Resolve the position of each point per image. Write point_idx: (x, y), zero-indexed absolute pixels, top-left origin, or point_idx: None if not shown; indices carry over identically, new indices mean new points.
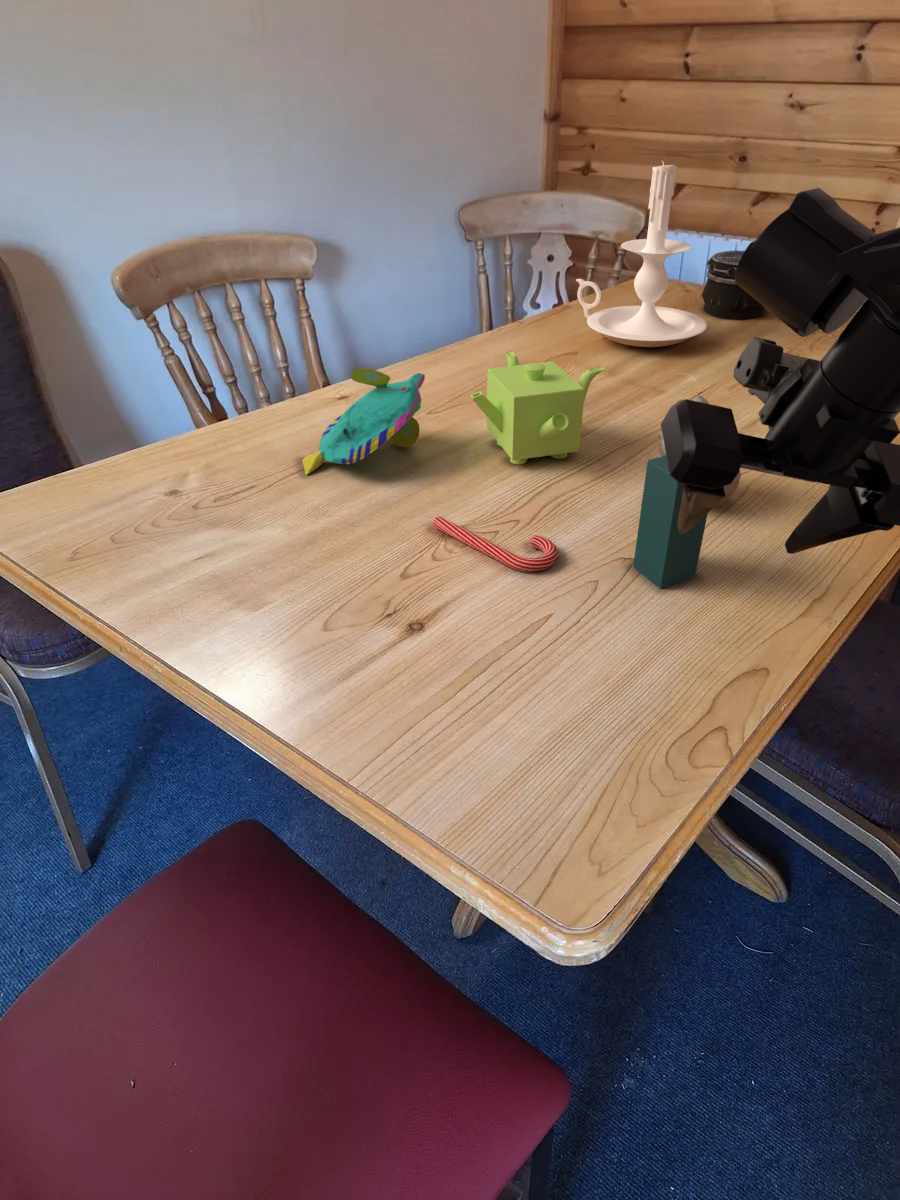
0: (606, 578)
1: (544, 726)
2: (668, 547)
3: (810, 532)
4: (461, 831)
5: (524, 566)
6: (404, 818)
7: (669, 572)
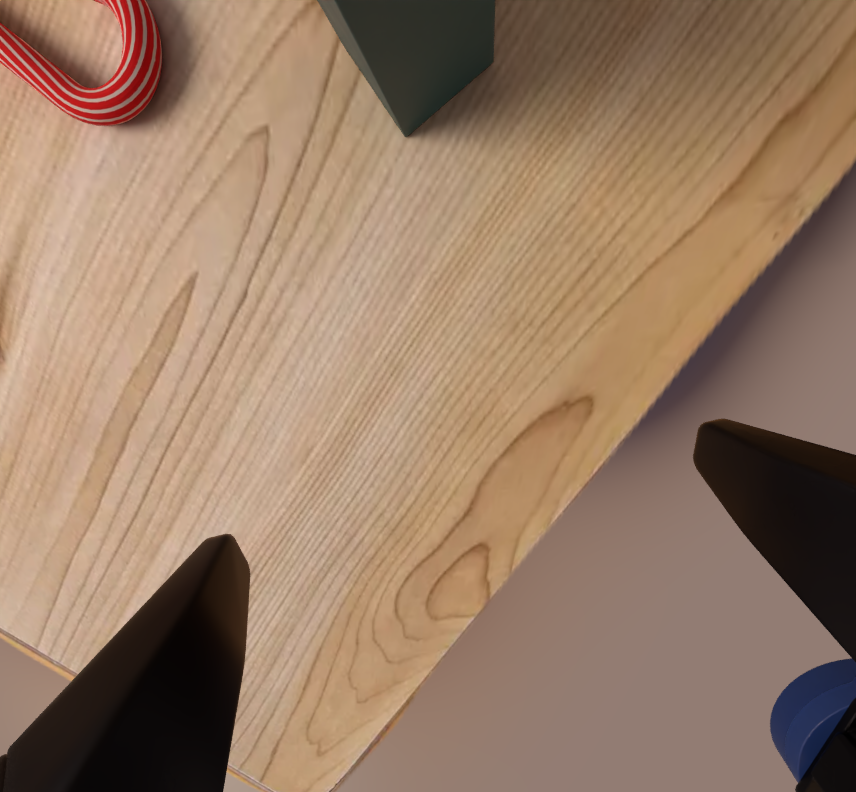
0: (285, 113)
1: None
2: (381, 79)
3: (832, 578)
4: None
5: (95, 122)
6: None
7: (415, 107)
